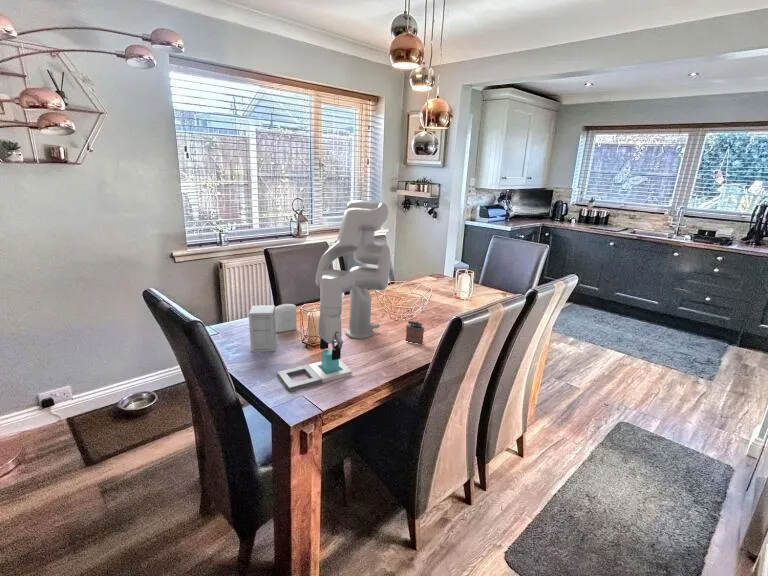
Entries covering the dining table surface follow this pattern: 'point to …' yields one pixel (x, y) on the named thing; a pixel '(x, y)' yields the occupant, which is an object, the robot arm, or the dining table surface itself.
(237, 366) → the dining table surface
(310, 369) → the panel
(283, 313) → the grey toy tombstone
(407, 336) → the lighter
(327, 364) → the plug
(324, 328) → the robot arm
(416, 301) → the dining table surface
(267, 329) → the supplement box
